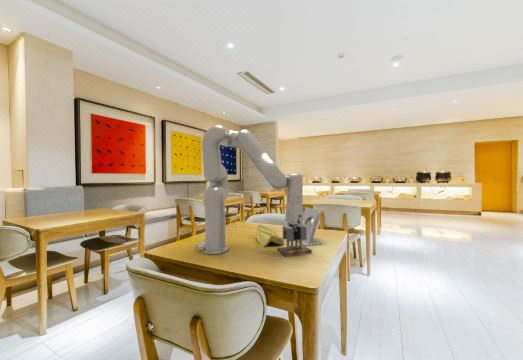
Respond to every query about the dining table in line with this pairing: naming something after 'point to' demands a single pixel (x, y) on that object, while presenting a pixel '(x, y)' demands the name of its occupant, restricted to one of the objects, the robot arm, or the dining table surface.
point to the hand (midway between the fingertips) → (294, 237)
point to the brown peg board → (294, 249)
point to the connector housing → (289, 233)
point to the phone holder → (310, 225)
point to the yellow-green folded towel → (267, 236)
